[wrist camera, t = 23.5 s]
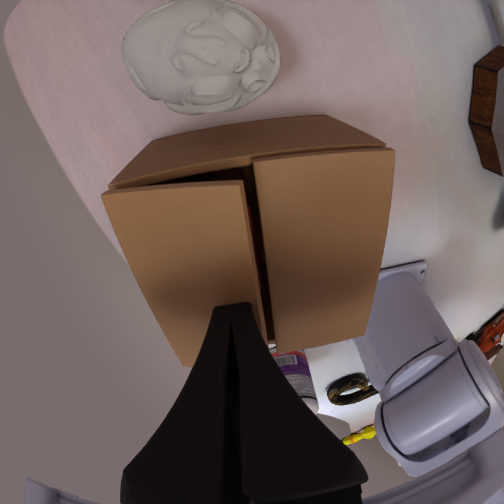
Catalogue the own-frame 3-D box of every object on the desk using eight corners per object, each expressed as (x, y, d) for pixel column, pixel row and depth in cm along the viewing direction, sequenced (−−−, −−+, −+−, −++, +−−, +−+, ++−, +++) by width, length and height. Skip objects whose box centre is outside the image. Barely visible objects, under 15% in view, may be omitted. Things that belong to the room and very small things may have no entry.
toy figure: (388, 432, 53) (348, 446, 58) (385, 420, 55) (346, 435, 60) (378, 435, 49) (336, 449, 54) (375, 422, 52) (334, 437, 57)
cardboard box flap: (185, 360, 15) (182, 365, 15) (106, 189, 9) (100, 195, 9) (273, 376, 14) (271, 383, 13) (243, 179, 8) (239, 184, 7)
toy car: (519, 307, 33) (529, 322, 30) (459, 356, 39) (467, 374, 36) (521, 288, 30) (534, 305, 26) (455, 344, 36) (465, 364, 32)
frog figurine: (241, 122, 15) (253, 150, 10) (131, 93, 13) (77, 106, 8) (279, 34, 12) (316, 8, 7) (165, 3, 10) (129, -37, 5)
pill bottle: (282, 374, 32) (295, 446, 24) (247, 363, 30) (256, 443, 22) (315, 352, 30) (335, 429, 22) (280, 338, 27) (297, 426, 19)
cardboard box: (191, 276, 22) (182, 365, 15) (151, 140, 15) (99, 193, 9) (327, 254, 22) (365, 336, 15) (325, 114, 15) (397, 148, 9)
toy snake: (328, 423, 33) (356, 387, 28) (320, 398, 37) (343, 358, 32) (420, 397, 36) (451, 360, 31) (409, 378, 40) (437, 339, 35)
